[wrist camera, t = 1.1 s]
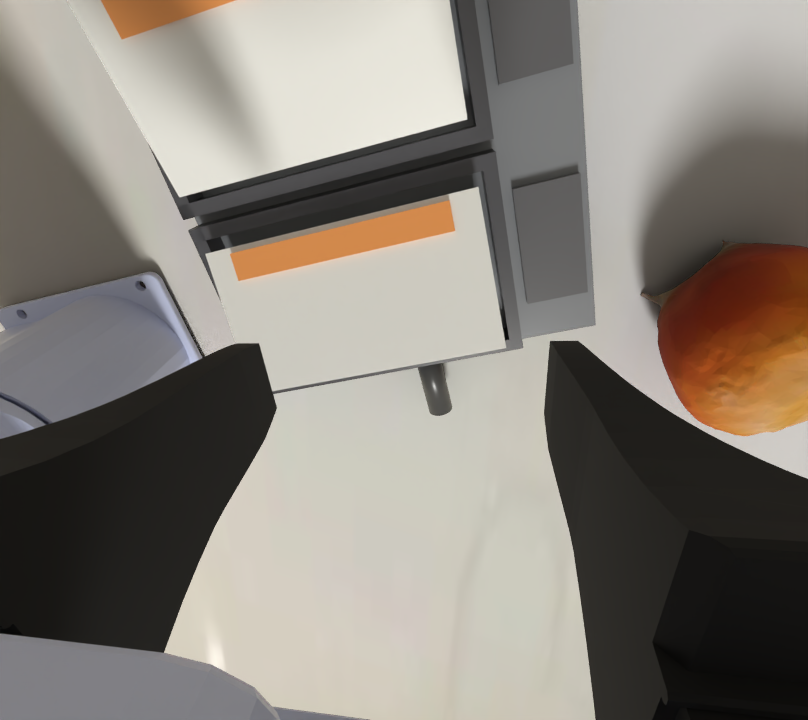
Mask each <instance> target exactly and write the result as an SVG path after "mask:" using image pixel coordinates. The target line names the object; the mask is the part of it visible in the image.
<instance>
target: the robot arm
mask: <svg viewBox="0 0 808 720" xmlns="http://www.w3.org/2000/svg"><path fill="white" fill-rule="evenodd" d="M139 281H142V282H143V283H144V284H145V286H146V288H144V287H142V286H141V285H140V282H139ZM23 311H25V313H26V314H27V315H26V314H25V313H24V312H23ZM0 322H1V324H2V325H3V326H4V328H5V329H6V330H4V331H2V332H0V720H368V719H360V718H353V717H345V716H338V715H330V714H323V713H315V712H308V711H301V710H293V709H286V708H278V707H272V706H271V705H270V704H269V703H268V702H267V701H266V700H265V699H264V697H263V696H262V695H261V694H260V693H259V692H258V691H257V690H256V689H255V688H254V687H253V686H251V685H249V684H247V683H245V682H243V681H241V680H239V679H237V678H236V677H234V676H232V675H230V674H228V673H226V672H224V671H222V670H221V669H219V668H217V667H215V666H213V665H210V664H206V663H202V662H198V661H194V660H190V659H186V658H182V657H178V656H175V655H171V654H167V653H164V651H165V648H166V645H167V642H168V640H169V637H170V634H171V631H172V629H173V626H174V623H175V621H176V618H177V615H178V613H179V610H180V607H181V604H182V602H183V599H184V597H185V594H186V592H187V590H188V587H189V585H190V582H191V580H192V577H193V575H194V572H195V570H196V568H197V565H198V563H199V561H200V558H201V556H202V554H203V552H204V549H205V547H206V545H207V543H208V541H209V538H210V536H211V534H212V532H213V529H214V527H215V525H216V523H217V521H218V520H219V518H220V516H221V514H222V512H223V510H224V509H225V507H226V505H227V503H228V502H229V500H230V498H231V497H232V495H233V493H234V492H235V490H236V488H237V486H238V485H239V483H240V481H241V480H242V478H243V476H244V475H245V473H246V471H247V470H248V468H249V466H250V464H251V463H252V461H253V459H254V457H255V456H256V454H257V452H258V451H259V449H260V447H261V445H262V443H263V442H264V440H265V437H266V435H267V433H268V430H269V428H270V425H271V423H272V420H273V417H274V414H275V412H276V409H277V407H276V403H275V400H274V396H273V392H272V389H271V385H270V381H269V378H268V374H267V370H266V367H265V363H264V359H263V356H262V352H261V349H260V345H259V343H237V344H234V345H231V346H228V347H225V348H223V349H221V350H218V351H216V352H214V353H212V354H210V355H208V356H206V357H203V358H202V356H201V354H200V352H199V350H198V348H197V346H196V345H195V343H194V341H193V339H192V337H191V335H190V333H189V331H188V329H187V327H186V325H185V323H184V321H183V319H182V317H181V315H180V313H179V311H178V309H177V307H176V305H175V303H174V302H173V300H172V298H171V296H170V294H169V292H168V290H167V288H166V286H165V284H164V282H163V280H162V278H161V277H160V276H159V275H158V274H157V273H154V272H145V273H141V274H137V275H133V276H129V277H125V278H121V279H117V280H113V281H109V282H104V283H100V284H96V285H92V286H88V287H84V288H80V289H76V290H72V291H68V292H64V293H59V294H55V295H51V296H47V297H43V298H39V299H35V300H31V301H27V302H23V303H18V304H14V305H10V306H6V307H4V308H1V309H0ZM544 416H545V425H546V434H547V442H548V449H549V453H550V458H551V461H552V465H553V469H554V473H555V477H556V481H557V485H558V489H559V493H560V496H561V500H562V504H563V508H564V512H565V516H566V519H567V523H568V527H569V531H570V536H571V541H572V545H573V550H574V557H575V564H576V570H577V577H578V584H579V591H580V598H581V605H582V613H583V620H584V627H585V635H586V642H587V650H588V659H589V667H590V675H591V683H592V691H593V699H594V709H595V718H596V720H808V479H806V478H804V477H801V476H799V475H796V474H794V473H791V472H789V471H786V470H784V469H782V468H779V467H777V466H774V465H772V464H770V463H767V462H765V461H763V460H761V459H758V458H756V457H754V456H752V455H750V454H748V453H746V452H744V451H742V450H739V449H737V448H735V447H733V446H731V445H729V444H727V443H725V442H723V441H721V440H719V439H717V438H715V437H713V436H711V435H709V434H707V433H706V432H704V431H702V430H700V429H699V428H697V427H695V426H693V425H692V424H690V423H688V422H686V421H685V420H683V419H681V418H679V417H678V416H676V415H674V414H673V413H671V412H670V411H668V410H667V409H665V408H663V407H662V406H660V405H659V404H658V403H656V402H655V401H653V400H652V399H650V398H649V397H647V396H646V395H645V394H643V393H642V392H640V391H639V390H638V389H636V388H635V387H634V386H632V385H631V384H630V383H628V382H627V381H626V380H624V379H623V378H622V377H621V376H619V375H618V374H617V373H616V372H614V371H613V370H612V369H611V368H610V367H608V366H607V365H606V364H605V363H604V362H602V361H601V360H600V359H599V358H598V357H597V356H595V355H594V354H593V353H592V352H591V351H590V350H588V349H587V348H586V347H585V346H584V345H582V344H581V343H580V342H579V341H550V348H549V360H548V372H547V384H546V396H545V409H544Z"/></svg>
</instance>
